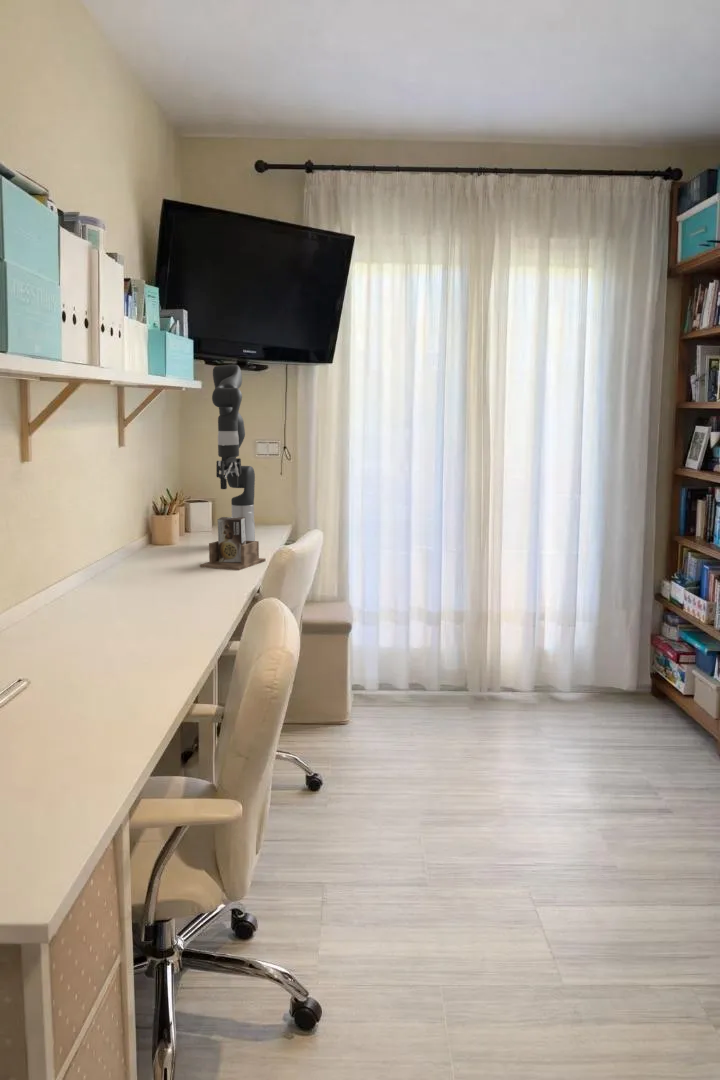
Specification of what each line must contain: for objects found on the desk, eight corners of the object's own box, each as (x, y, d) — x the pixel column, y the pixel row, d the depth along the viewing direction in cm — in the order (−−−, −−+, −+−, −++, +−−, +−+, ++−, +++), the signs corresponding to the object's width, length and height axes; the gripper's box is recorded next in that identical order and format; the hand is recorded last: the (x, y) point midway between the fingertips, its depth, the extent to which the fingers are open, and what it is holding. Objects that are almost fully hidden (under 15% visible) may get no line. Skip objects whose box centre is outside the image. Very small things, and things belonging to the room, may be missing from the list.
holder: (228, 558, 343) (227, 537, 341) (265, 561, 337) (265, 540, 336) (200, 567, 324) (199, 545, 323) (239, 570, 318) (238, 547, 317)
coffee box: (247, 560, 333) (246, 516, 331) (242, 563, 327) (241, 519, 325) (223, 559, 334) (222, 516, 332) (218, 562, 328) (217, 518, 326)
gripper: (228, 442, 334) (230, 485, 336) (209, 444, 321) (210, 489, 323) (246, 442, 331) (247, 486, 334) (227, 444, 318) (229, 490, 321)
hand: (229, 488), depth 328 cm, fingers open, 8 cm apart
